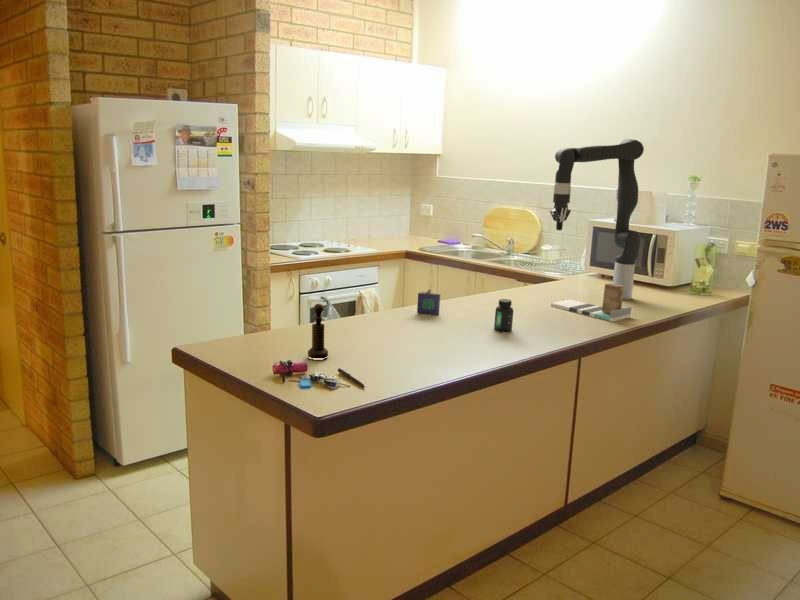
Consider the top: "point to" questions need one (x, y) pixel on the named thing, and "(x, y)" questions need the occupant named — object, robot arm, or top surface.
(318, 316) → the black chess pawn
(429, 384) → the top surface
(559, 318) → the top surface
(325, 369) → the top surface
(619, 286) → the slider block
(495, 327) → the supplement bottle
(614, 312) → the track
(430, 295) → the flask
